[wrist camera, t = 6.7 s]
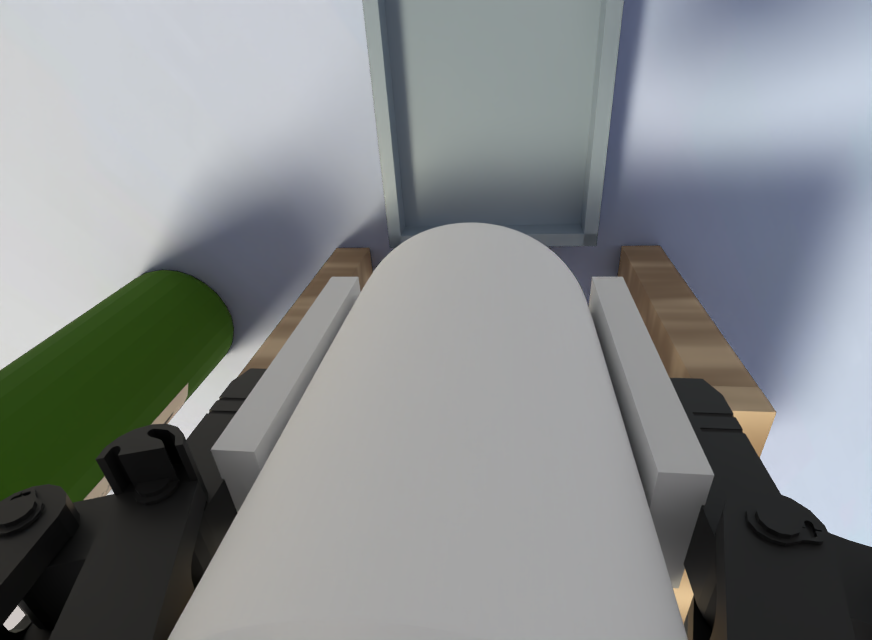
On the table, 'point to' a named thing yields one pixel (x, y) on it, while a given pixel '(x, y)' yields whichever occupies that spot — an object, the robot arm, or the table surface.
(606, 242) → the table surface
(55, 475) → the wine bottle
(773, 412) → the small wooden table
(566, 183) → the tray
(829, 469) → the table surface
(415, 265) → the beverage can
